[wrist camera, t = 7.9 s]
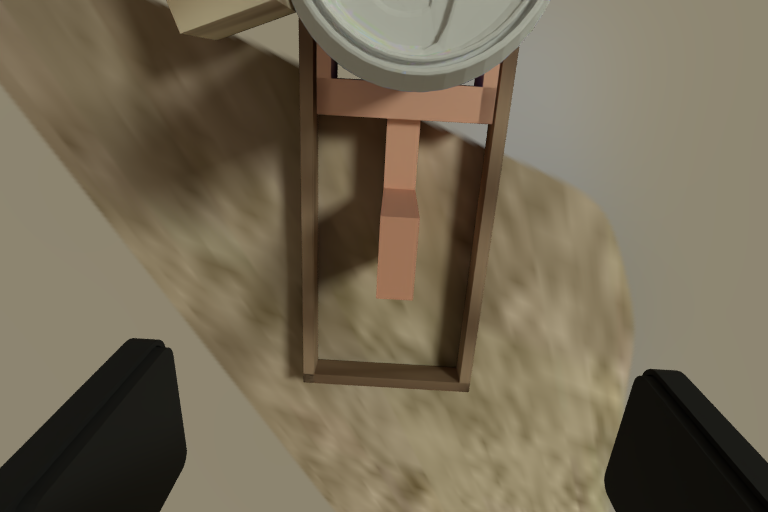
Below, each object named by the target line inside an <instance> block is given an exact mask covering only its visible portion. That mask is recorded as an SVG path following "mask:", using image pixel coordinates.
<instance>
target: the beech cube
mask: <svg viewBox="0 0 768 512" xmlns="http://www.w3.org/2000/svg"><path fill="white" fill-rule="evenodd" d="M166 1H167V3H168V6H169V8H170V10H171V13H172V15H173V17H174V20H175V22H176V25H177V27H178V29H179V32H180V34H185V35H191V36H196V37H201V38H206V39H212V40H219V39H222V38H225V37H228V36H230V35H233V34H237V33H240V32H242V31H245V30H248V29H251V28H254V27H256V26H259V25H262V24H265V23H268V22H271V21H273V20H276V19H279V18H282V17H284V16H287V15H290V14H293V13H296V10H295V8H294V5H293V3H292V1H291V0H166Z"/></svg>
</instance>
